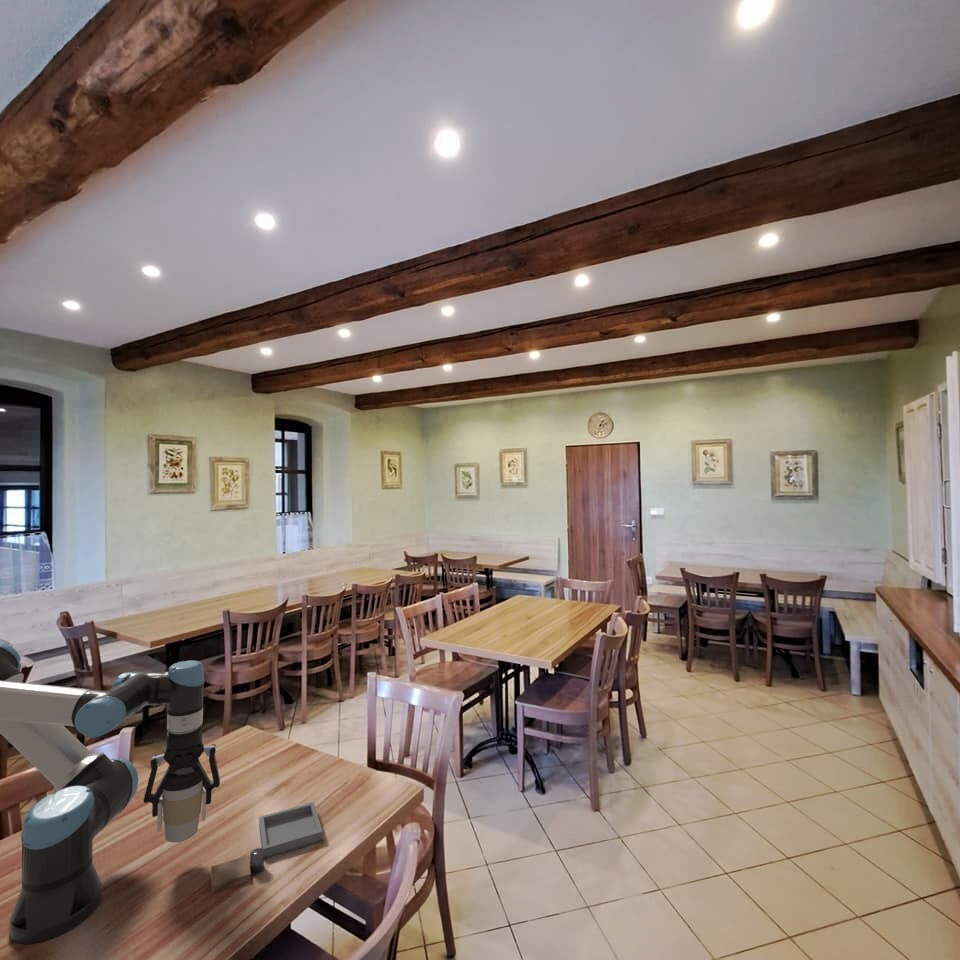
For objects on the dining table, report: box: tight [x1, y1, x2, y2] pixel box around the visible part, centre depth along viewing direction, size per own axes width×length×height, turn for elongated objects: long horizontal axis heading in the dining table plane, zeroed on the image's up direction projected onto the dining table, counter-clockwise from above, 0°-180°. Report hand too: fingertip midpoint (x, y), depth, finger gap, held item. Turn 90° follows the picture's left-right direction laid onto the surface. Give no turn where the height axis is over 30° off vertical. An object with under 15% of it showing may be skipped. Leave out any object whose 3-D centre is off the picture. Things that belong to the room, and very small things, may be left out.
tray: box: [258, 801, 324, 860], centre depth 133 cm, size 14×14×2 cm
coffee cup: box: [161, 766, 204, 843], centre depth 123 cm, size 9×9×15 cm
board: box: [210, 854, 252, 894], centre depth 118 cm, size 8×7×2 cm
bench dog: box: [249, 847, 265, 875], centre depth 120 cm, size 3×3×4 cm
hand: (182, 822), depth 123 cm, fingers closed on coffee cup, 8 cm apart
